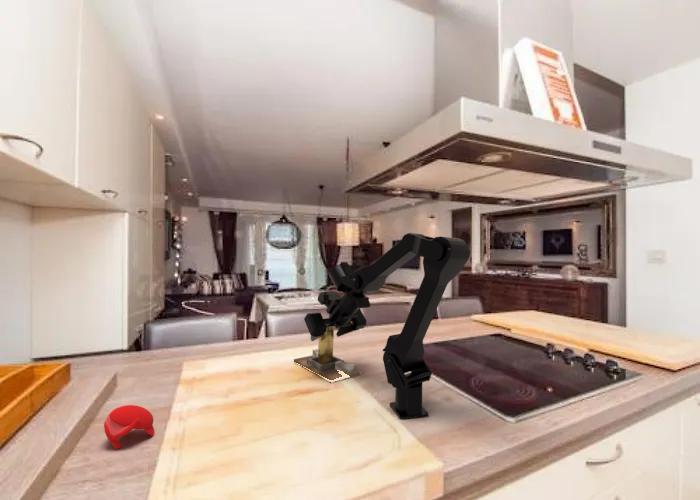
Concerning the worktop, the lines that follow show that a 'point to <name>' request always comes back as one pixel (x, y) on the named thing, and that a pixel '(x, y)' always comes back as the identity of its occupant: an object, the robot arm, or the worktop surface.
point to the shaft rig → (327, 366)
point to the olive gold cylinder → (326, 347)
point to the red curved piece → (127, 422)
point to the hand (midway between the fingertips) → (324, 337)
